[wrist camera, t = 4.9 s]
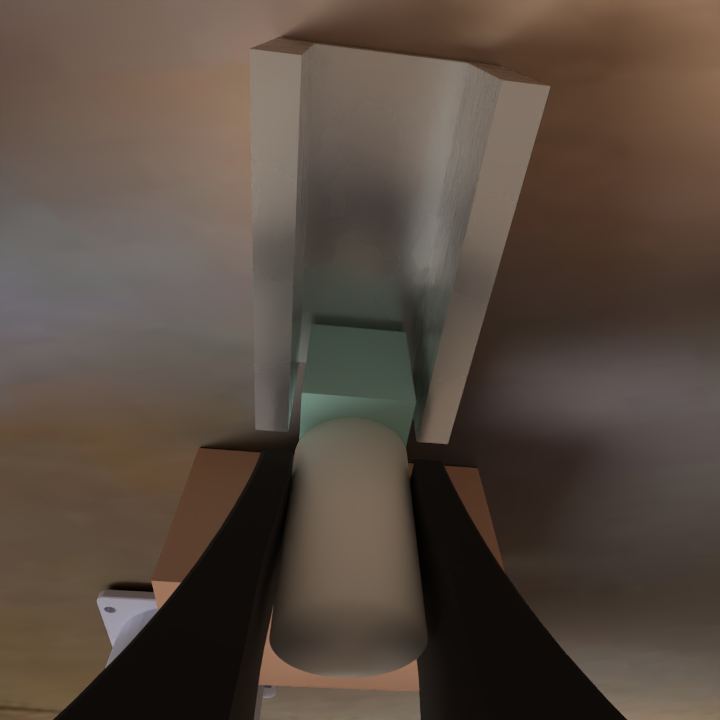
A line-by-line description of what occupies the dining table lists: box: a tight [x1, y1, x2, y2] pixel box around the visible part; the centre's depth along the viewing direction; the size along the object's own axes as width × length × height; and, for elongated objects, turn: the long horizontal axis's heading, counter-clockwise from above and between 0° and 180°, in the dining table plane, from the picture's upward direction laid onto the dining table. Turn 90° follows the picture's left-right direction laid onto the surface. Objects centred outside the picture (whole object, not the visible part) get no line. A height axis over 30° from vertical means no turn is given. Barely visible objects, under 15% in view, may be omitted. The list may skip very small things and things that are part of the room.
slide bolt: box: [269, 324, 428, 678], centre depth 13 cm, size 8×3×8 cm, turn 174°
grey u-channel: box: [250, 37, 551, 444], centre depth 12 cm, size 8×5×4 cm, turn 174°
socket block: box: [152, 448, 506, 692], centre depth 18 cm, size 6×10×5 cm, turn 84°
